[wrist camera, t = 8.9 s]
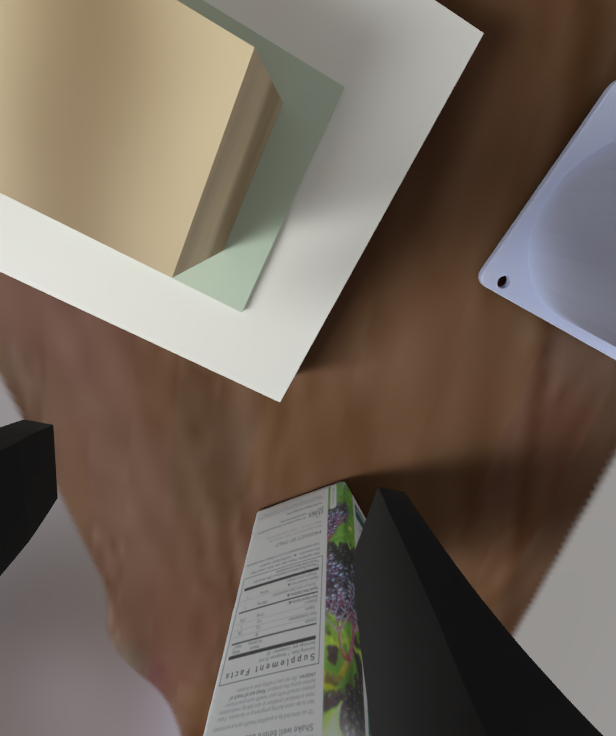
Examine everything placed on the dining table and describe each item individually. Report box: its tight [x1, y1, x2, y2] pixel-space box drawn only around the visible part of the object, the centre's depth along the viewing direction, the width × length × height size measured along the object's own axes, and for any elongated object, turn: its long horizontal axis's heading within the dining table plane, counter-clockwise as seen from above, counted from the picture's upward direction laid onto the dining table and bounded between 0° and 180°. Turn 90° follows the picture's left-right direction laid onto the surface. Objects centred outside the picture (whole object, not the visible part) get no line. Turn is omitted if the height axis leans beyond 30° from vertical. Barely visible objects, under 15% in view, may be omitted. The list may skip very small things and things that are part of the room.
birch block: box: [0, 0, 283, 278], centre depth 10 cm, size 5×5×5 cm
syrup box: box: [204, 482, 371, 736], centre depth 16 cm, size 6×6×14 cm
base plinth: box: [0, 0, 484, 402], centre depth 14 cm, size 14×14×3 cm
